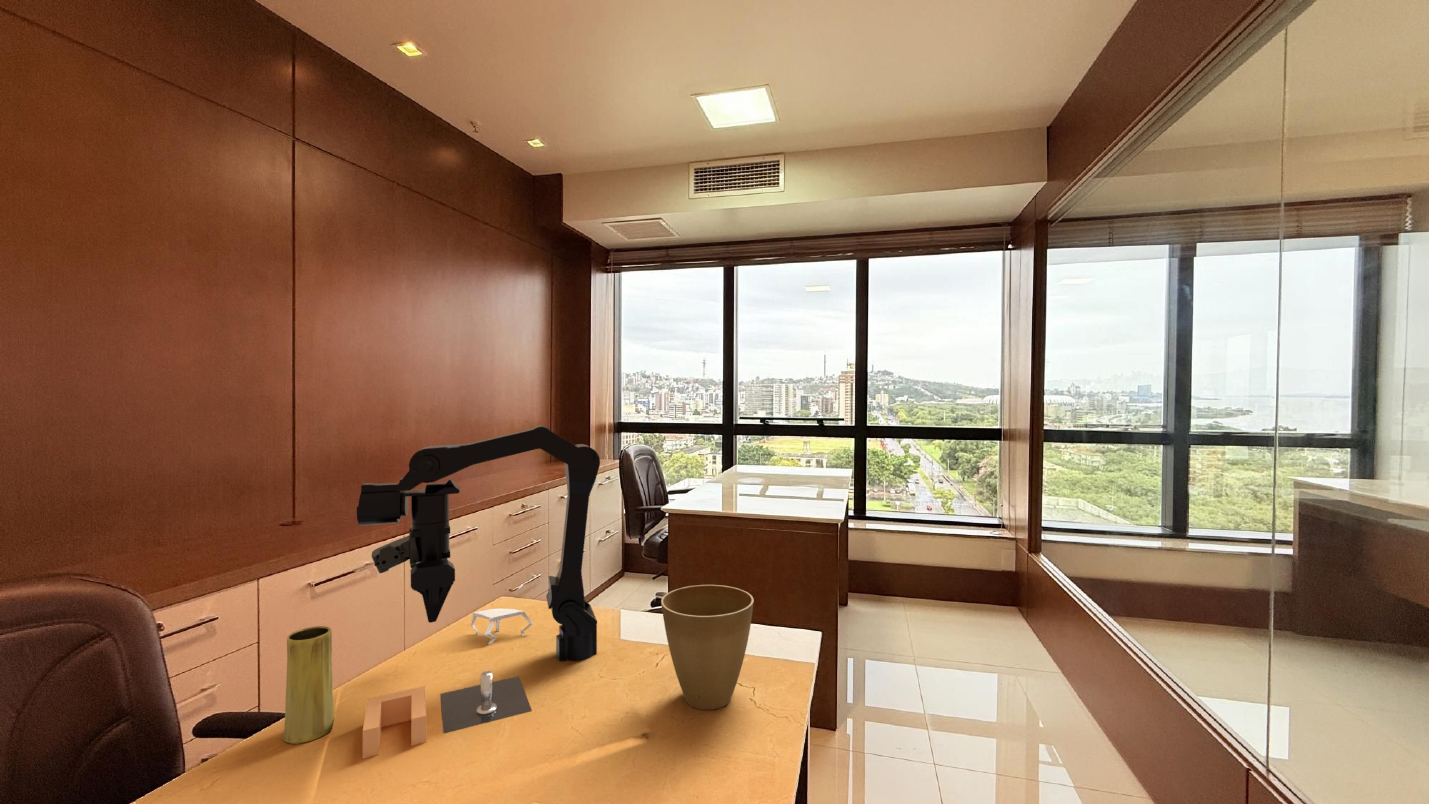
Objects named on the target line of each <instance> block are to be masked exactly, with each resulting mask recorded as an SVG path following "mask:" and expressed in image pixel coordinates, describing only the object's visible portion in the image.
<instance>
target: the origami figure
mask: <svg viewBox="0 0 1429 804" xmlns="http://www.w3.org/2000/svg"><path fill="white" fill-rule="evenodd" d="M519 616H523V618H524V619H525V620H526V621H527V622H528V625H527V626H526V627H524V628H523V629H522V630H521V631H520V634H521V637H525V632H524V631H526V630H527V629H529V628H530V627H531V626H532V625H534V624H533V622H532V621H531V619H530V618H529V616H528V615H527V613H526V611H524V610H520V609H514V608H492V609H491V608H490V609H485V610H480V611H475V612H472V618H471V623H470V626H471V627H472V628H473V630H474V631H475V632H476V633H474V636H477V635H478V634H479V633H480V632H479V630H478V629H477V628H476V626H475V621H476V619H477V618H483V619H486V620H488V621H489V624H488V625H487V627H486V629H485V632H484V634H483V636H485V637H488V638H491V639H490V641H489V642H488V643H487V645H491V644H493V643H494V642H495V640H496V639H497V637H496V636H495V635H493V634H492V633H491V631H492V629H493V626H494V624H495V632H500V623H501V622H500V620H503V619H508V618H513V617H519Z"/></svg>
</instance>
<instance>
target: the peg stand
mask: <svg viewBox="0 0 1429 804" xmlns="http://www.w3.org/2000/svg"><path fill="white" fill-rule="evenodd" d="M440 703H441V704H440V705H441V707H440V708H441V717H442V729H443V730H442V731H443V734H447V733H450V732H451V733H452V732H455V731H459V730H462V729H463V730H464V729H467V728H470V727H475V726H478V725H483V724H487V723H490V722H491V723H492V722H495V721H498V720H502V719H506V718H511V717H514V716H518V715H521V714H525V713H529V712H532V711H533V710H532V708H531V707H532V706H531V705H530V702H529V699H528V696H527V694H526V691H525V688H524V686H523V684H522V680H521V678H520V676H519V675H518V676H514V677H509V678H504V679H500V680H496V681H493V671H491V670H487V671H483V672H482V673H480V684H476V685H474V686H473V685H472V686H468V687H463V688H460V689H459V688H458V689H455V690H451V691H447V692H442V693H440Z"/></svg>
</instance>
